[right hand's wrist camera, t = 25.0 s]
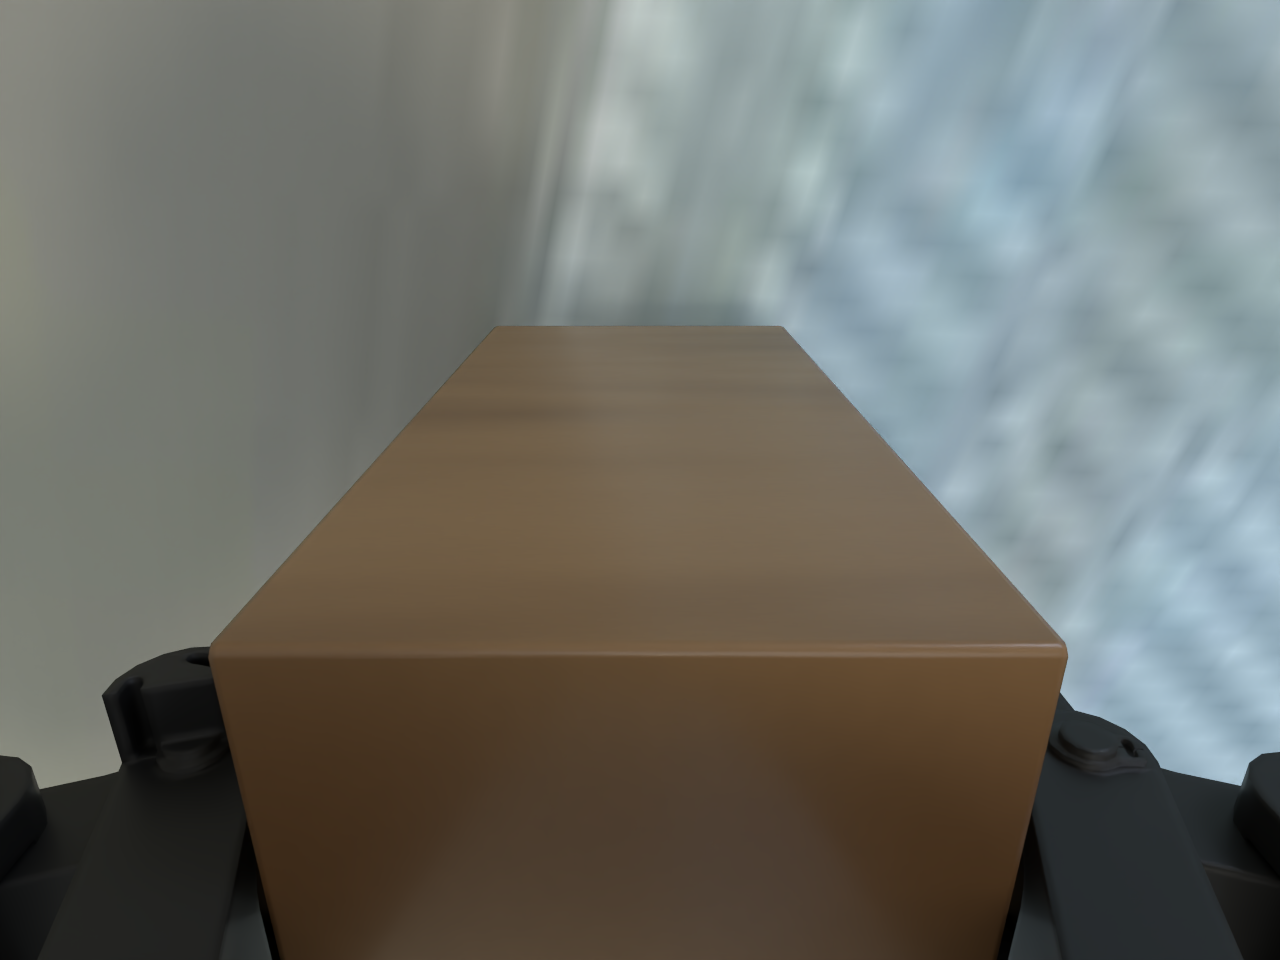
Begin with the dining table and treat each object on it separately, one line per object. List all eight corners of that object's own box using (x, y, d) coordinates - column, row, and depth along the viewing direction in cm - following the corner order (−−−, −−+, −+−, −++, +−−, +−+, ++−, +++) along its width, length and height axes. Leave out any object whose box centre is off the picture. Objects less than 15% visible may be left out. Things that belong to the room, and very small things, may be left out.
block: (764, 621, 18) (935, 1243, 8) (514, 621, 18) (343, 1242, 8) (784, 324, 16) (1077, 645, 5) (493, 324, 16) (199, 647, 5)
